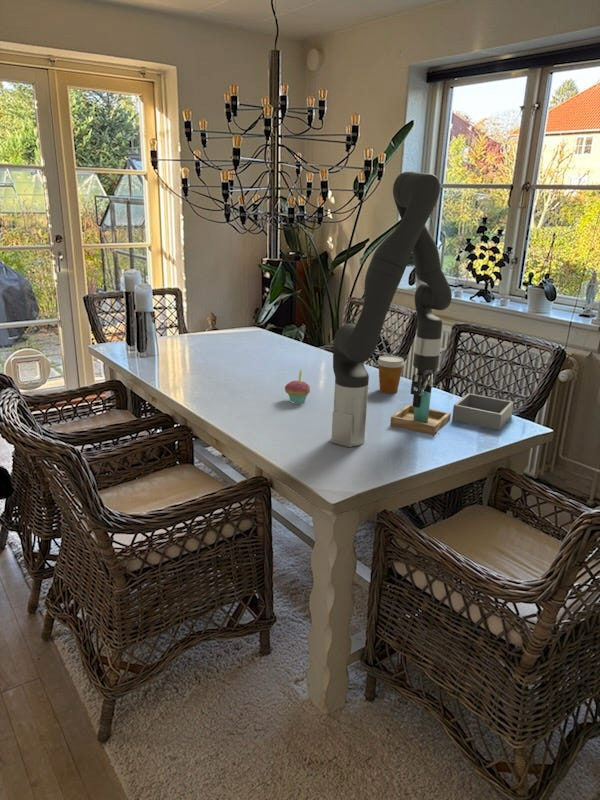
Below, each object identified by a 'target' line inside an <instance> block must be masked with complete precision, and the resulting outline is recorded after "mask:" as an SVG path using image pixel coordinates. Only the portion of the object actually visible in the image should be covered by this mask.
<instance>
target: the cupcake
mask: <svg viewBox="0 0 600 800" xmlns="http://www.w3.org/2000/svg"><path fill="white" fill-rule="evenodd" d="M302 372H303V371H302V370H300V371H299V372H298V373H299V376H298V380H292V381H290V382H288V383H287V384H286V385H285V386H284V390H285V391H284V392H285V393H286V394H288V397H289V400H290V402H291V401H292V402H294V403H302V404H304V403H305V401H306V399H307V397H308V394H310V393H311V386H310V385H309V383H307V382H306V381H301V379H302ZM292 402H291V403H292ZM303 402H304V403H303ZM294 403H293V404H294Z"/></svg>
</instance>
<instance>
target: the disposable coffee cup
mask: <svg viewBox="0 0 600 800" xmlns="http://www.w3.org/2000/svg"><path fill="white" fill-rule="evenodd" d="M376 362H377V364H378V379H379V381H378V382H379V391H380V392H382V393H384V394H396V393H398V389H399V385H400V380H401V376H402V371H403V368H404V365H405V361H404V358H402V357H400V356H396V355H381V356H379V357H378V360H376Z"/></svg>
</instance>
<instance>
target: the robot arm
mask: <svg viewBox="0 0 600 800" xmlns="http://www.w3.org/2000/svg"><path fill="white" fill-rule="evenodd" d="M392 186H393V187H392V196H393V200H394V203H395V206H396V209H397V211H398V214H399V216H400V219H401V221H400V222H399V224H398V225H397V226H396V228H395V229H394V230H393V231H392V232H391V233H390V234H389V235H388V236H387V237H386V238H385V239H384V240H383V241H382V242H381V243H380V245H378V247H377V248H376V249H375V251H374V253H373V254H372V258H371V260H370V262H369V265H368V268H367V270H366V273H365V278H364V288H363V289H364V290H363V292H364V293H363V304H362V309H361V312H360V314H359V317H358V319H357V321H356V323H346V324H343V325H341V326H340V327H339V328H338V329H337V331H336V332H335V335H334V338H333V346H332V370H333V373H334V379H335V380H334V381H335V382H334V395H333V396H334V397H333V398H334V399H333V400H334V401H333V411H332V419H331V420H332V424H331V443H332V444H336V445H338V446H339V445H340V446H344V447H347V448H352V447H357V446H360V445H363V444H364V443H365V438H366V437H365V436H366V422H367V410H368V393H369V381H370V380H369V379H370V377H369V376H370V375H369V373H368V371H367V369H366V366H365V364H364V363H365V362H367V361H368V360H369V359H370V358H372V356H373V354H374V353H375V351H376V350H377V347H378V346H377V345H378V343H379V340H380V337H381V334H382V330H383V326H384V323H385V320H386V317H387V315H388V312H389V309H390V307H391V304H392V302H393V300H394V296H395V294H396V292H397V290H398V288H399V285H400V284H401V283H400V282H401V281H402V277H404V273H405V272H406V268H407V266H408V263H409V261H410V258H411V256H412V258H413V263H414V269H415V270H414V271H415V274H416V277H417V279H418V280H419V281H420V282H423V283H420V284H419V286H417V288H416V290H415V292H414V306H415V311H416V317H417V327H416V328H417V330H416V339H415V342H414V343H415V344H414V348H413V349H414V351H413V360H412V366H413V367H414V368H416V369H417V373H416V374H413V375H412V379H411V380H412V381H411V388H410V394H411V395H413V398H412V405H413V407H417V408H419V407H420V405H421V395H422V392H423V391H425V392H429V393H431V394H432V389H433V388H434V386H435V385H436V377H437V369H438V368H439V365H440V364H439V363H440V356H441V347H442V345H441V344H442V342H441V339H442V332H443V331H442V330H443V321H442V319H441V318H439V317H438V316H436V315H435V314H434V313H433V310H435V311H445V310H447V308H449V307H450V305H451V303H452V298H453V297H452V296H453V293H452V290H451V287H450V284H449V283H448V280H447V278H446V276H445V273H444V272H443V270H442V266H441V257H440V252H439V249H438V246H437V243H436V241H435V239H434V237H433V236H432V234H431V233H430V231H429V229H428V227H427V225H426V224H427V222H428V220H429V219H430V216H431V214H432V212H433V211H434V208H435V206H436V204H437V203H438V200H439V196H440V193H441V184H440V180H439V178H438V176H436V175H434V174H433V173H427V172H418V171H416V172H415V171H403V172H402V173H400V174H399V175H397V176H396V178H395V180H394V182H393V185H392Z"/></svg>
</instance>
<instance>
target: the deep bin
mask: <svg viewBox="0 0 600 800" xmlns="http://www.w3.org/2000/svg"><path fill="white" fill-rule="evenodd" d="M514 403H515V402H514V401H511V400H507V399H506V400H505V399H500V398H496V397H491V396H490V397H489V396H487V395H481V394H480V395H479V394H476V393H475V394H474V393H470V392H468V393H467V394H465V395H463V397H461V398H460V399H459V400H458V401H457V402H455V403H454V404H453V409H452V417H451V421H454V422H457V423H458V422H459V423H463V424H467V425H473V426H478V427H481V428H486V429H490V430H495V431H500V430H502V428H503V427H504V426H505V425H506V423H508V422H509V420H510V419H511V418H512V417H513V416H512V415H513V408H514Z"/></svg>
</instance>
